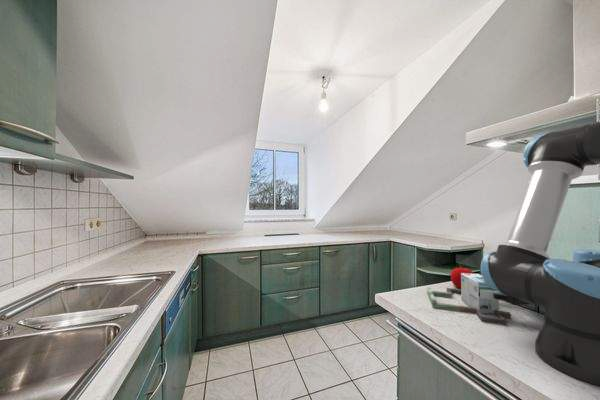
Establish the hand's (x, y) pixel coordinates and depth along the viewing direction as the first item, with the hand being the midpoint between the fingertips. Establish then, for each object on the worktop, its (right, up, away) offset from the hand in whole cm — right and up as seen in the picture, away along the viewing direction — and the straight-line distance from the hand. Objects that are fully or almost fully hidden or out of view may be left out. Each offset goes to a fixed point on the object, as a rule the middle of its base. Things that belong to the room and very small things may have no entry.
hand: (474, 286), depth 86 cm
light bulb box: (+1, -7, -1) cm, 7 cm away
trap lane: (-3, -7, +1) cm, 8 cm away
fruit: (+8, -7, +18) cm, 21 cm away
